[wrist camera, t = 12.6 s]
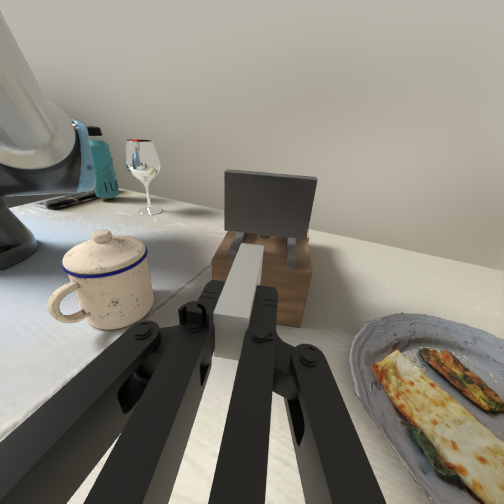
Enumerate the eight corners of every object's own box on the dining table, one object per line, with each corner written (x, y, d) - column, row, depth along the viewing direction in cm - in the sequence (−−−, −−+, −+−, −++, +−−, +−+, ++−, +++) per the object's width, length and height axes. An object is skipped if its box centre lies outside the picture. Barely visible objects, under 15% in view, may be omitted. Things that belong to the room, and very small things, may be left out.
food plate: (789, 551, 17) (852, 534, 15) (643, 849, 9) (730, 881, 8) (439, 312, 37) (448, 294, 36) (309, 349, 30) (314, 329, 28)
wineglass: (169, 206, 71) (161, 140, 62) (160, 216, 64) (150, 143, 55) (141, 205, 70) (129, 138, 62) (129, 215, 63) (114, 141, 54)
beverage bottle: (107, 204, 70) (88, 127, 60) (91, 200, 72) (71, 125, 62) (125, 198, 75) (111, 127, 65) (110, 195, 77) (94, 125, 68)
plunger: (302, 256, 30) (317, 179, 25) (224, 247, 31) (224, 171, 26) (300, 227, 38) (310, 165, 33) (238, 220, 39) (240, 159, 34)
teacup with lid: (125, 281, 39) (109, 213, 33) (169, 299, 36) (159, 227, 30) (42, 332, 29) (-2, 248, 23) (92, 362, 26) (56, 274, 20)
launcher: (299, 327, 32) (314, 261, 27) (213, 315, 33) (211, 249, 28) (297, 271, 44) (306, 218, 39) (233, 263, 45) (235, 210, 40)
